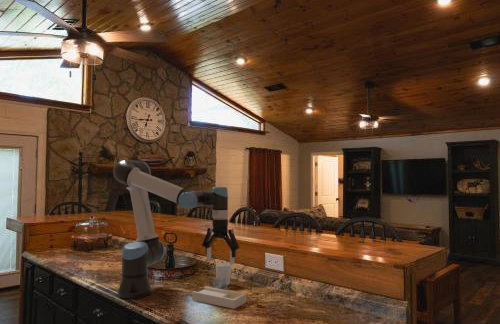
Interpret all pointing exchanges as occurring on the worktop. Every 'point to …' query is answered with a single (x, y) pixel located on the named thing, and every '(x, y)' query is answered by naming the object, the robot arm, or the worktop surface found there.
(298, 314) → the worktop surface
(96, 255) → the worktop surface
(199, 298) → the box with sliding lid
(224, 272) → the white cup
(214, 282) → the clip
